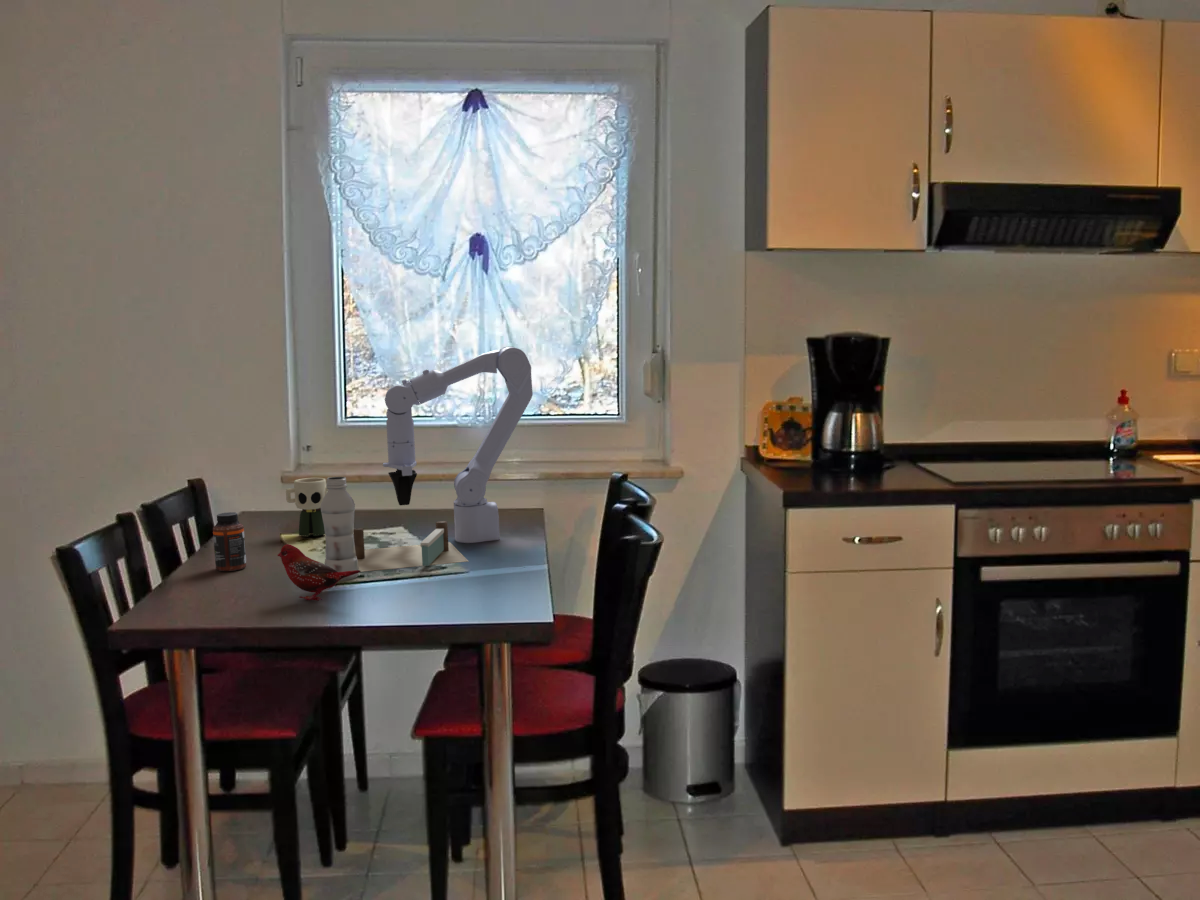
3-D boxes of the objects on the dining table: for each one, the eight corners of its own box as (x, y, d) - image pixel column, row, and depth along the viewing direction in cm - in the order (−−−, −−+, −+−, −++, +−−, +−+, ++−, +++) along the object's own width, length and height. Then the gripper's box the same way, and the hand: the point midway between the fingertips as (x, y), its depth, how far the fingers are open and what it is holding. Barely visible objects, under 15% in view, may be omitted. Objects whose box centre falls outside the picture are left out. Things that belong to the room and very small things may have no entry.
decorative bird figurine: (285, 595, 208) (281, 541, 207) (367, 603, 201) (364, 547, 200) (274, 599, 205) (271, 545, 204) (357, 607, 199) (354, 551, 197)
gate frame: (450, 546, 246) (448, 514, 246) (468, 566, 228) (467, 531, 227) (346, 556, 240) (344, 523, 239) (356, 577, 221) (354, 541, 220)
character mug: (286, 540, 258) (282, 483, 256) (290, 534, 265) (287, 478, 263) (335, 537, 259) (332, 481, 257) (338, 531, 266) (335, 476, 264)
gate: (437, 550, 236) (436, 528, 236) (444, 549, 236) (443, 528, 236) (421, 565, 222) (420, 543, 222) (429, 565, 222) (428, 542, 222)
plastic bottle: (329, 588, 213) (323, 482, 210) (320, 580, 219) (314, 477, 216) (363, 583, 216) (358, 478, 213) (354, 576, 222) (348, 474, 219)
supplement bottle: (252, 566, 233) (249, 511, 231) (234, 573, 227) (230, 517, 226) (228, 564, 235) (224, 510, 233) (209, 571, 229) (205, 515, 228)
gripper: (377, 439, 249) (380, 500, 251) (386, 446, 236) (389, 511, 237) (410, 437, 251) (413, 498, 253) (420, 444, 238) (423, 509, 239)
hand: (404, 504), depth 245 cm, fingers closed
